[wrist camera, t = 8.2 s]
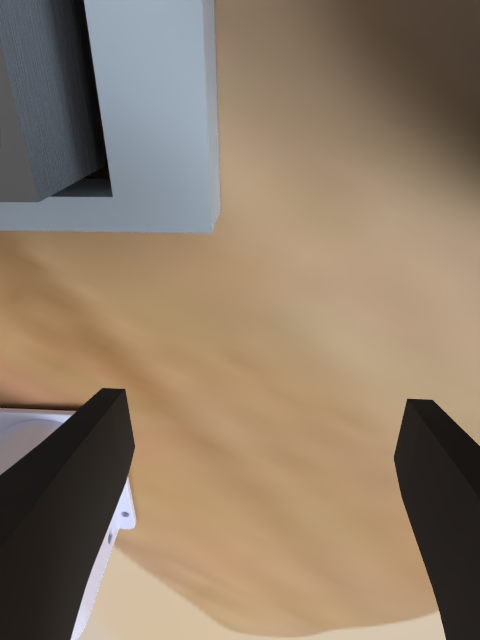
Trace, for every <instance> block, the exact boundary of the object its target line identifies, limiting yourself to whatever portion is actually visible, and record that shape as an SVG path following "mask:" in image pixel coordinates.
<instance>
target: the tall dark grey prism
mask: <svg viewBox="0 0 480 640" xmlns="http://www.w3.org/2000/svg"><path fill="white" fill-rule="evenodd" d="M106 165H108V160H107V153H106V146H105V140H104V133H103V126H102V119H101V113H100V106H99V99H98V92H97V86H96V79H95V72H94V65H93V59H92V52H91V45H90V38H89V32H88V25H87V18H86V11H85V4H84V0H0V202H40V201H42V200H44V199H46V198H48V197H50V196H51V195H53V194H55V193H57V192H59V191H60V190H62V189H64V188H66V187H68V186H70V185H71V184H73V183H75V182H77V181H79V180H81V179H82V178H84V177H86V176H88V175H90V174H91V173H93V172H95V171H97V170H99V169H101V168H102V167H104V166H106Z"/></svg>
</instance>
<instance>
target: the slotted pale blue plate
mask: <svg viewBox="0 0 480 640" xmlns="http://www.w3.org/2000/svg"><path fill="white" fill-rule="evenodd" d="M84 4H85V11H86V18H87V25H88V32H89V38H90V45H91V52H92V59H93V65H94V72H95V79H96V86H97V92H98V99H99V106H100V113H101V119H102V126H103V133H104V140H105V146H106V153H107V160H108V167H109V173H110V179H81V180H79V181H77V182H75V183H73V184H71V185H70V186H68V187H66V188H64V189H62V190H60V191H59V192H57V193H55V194H53V195H51V196H50V197H48V198H46V199H44V200H42V201H40V202H0V231H67V232H144V233H212V231H213V229H214V226H215V224H216V221H217V218H218V216H219V213H220V178H219V144H218V110H217V77H216V43H215V10H214V0H84Z"/></svg>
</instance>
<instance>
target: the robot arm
mask: <svg viewBox="0 0 480 640" xmlns="http://www.w3.org/2000/svg"><path fill="white" fill-rule="evenodd" d="M134 449H135V444H134V438H133V432H132V426H131V420H130V414H129V408H128V403H127V397H126V391H125V389H110V388H102V389H101V390H100V391H99V392H97V393H96V394H95V395H94V396H93V397H92V398H91V399H90V400H89V401H87V402H86V403H85V404H84V405H83V406H82V407H81V408H80V409H79V410H77V411H63V410H37V409H11V408H0V640H77V639H78V637H79V636H80V635H81V633H82V631H83V630H84V628H85V626H86V624H87V622H88V619H89V617H90V614H91V611H92V608H93V605H94V602H95V599H96V596H97V593H98V590H99V587H100V584H101V581H102V578H103V575H104V572H105V569H106V566H107V563H108V560H109V557H110V554H111V551H112V548H113V545H114V542H115V540H116V537H117V534H118V531H119V529H132V528H134V527H135V524H136V516H135V511H134V505H133V500H132V495H131V489H130V484H129V479H128V473H129V469H130V465H131V461H132V457H133V453H134ZM394 462H395V467H396V472H397V477H398V482H399V486H400V491H401V496H402V499H403V502H404V505H405V508H406V511H407V514H408V517H409V520H410V523H411V526H412V529H413V532H414V535H415V538H416V541H417V544H418V547H419V549H420V552H421V555H422V558H423V561H424V564H425V567H426V570H427V573H428V576H429V579H430V582H431V584H432V587H433V591H434V594H435V597H436V601H437V604H438V608H439V611H440V615H441V620H442V624H443V628H444V632H445V636H446V640H480V446H479V445H478V444H477V443H476V442H475V441H474V440H473V439H472V438H471V437H470V436H469V435H468V434H467V433H466V432H465V431H464V430H463V429H462V428H461V427H460V426H459V425H458V424H457V423H456V422H454V421H453V420H452V419H451V418H450V417H449V416H448V415H447V414H446V413H445V412H444V411H443V410H442V409H441V408H440V407H439V406H438V405H437V404H436V403H435V402H434V401H433V400H423V399H407V402H406V407H405V411H404V415H403V420H402V424H401V428H400V433H399V437H398V442H397V446H396V450H395V455H394Z"/></svg>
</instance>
